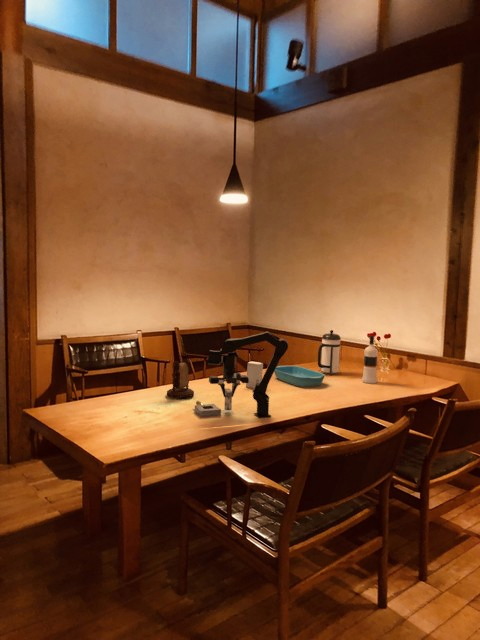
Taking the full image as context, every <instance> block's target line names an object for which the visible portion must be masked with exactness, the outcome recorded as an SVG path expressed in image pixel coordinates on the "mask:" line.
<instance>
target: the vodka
mask: <svg viewBox="0 0 480 640" xmlns="http://www.w3.org/2000/svg"><path fill="white" fill-rule="evenodd" d="M374 341H375V336H374V335H369V345H368V346H367V347H365V349H364V352H363V353H364V354H363V355H364V356H363V357H364V359H363V370H362V371H363V374H362V378H361V381H362V383H364V384H371V385H373V384H376V383H377V382H378V378H377V370H378V367H377V365H378V355H379V351H378V349H377V347H375V346H374V345H375V344H374Z"/></svg>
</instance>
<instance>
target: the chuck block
mask: <svg viewBox="0 0 480 640" xmlns="http://www.w3.org/2000/svg"><path fill="white" fill-rule="evenodd" d="M221 410H222V409H221V408H220V407H218V406H217V405H216V404H214V403H211V404H204V403H203V402H201V400H197V401H196V402H195V405H194V408H192V411H193V412H194V413H195V414H197V415H198V416H199V417H200V418H210V417H220V416H222V412H221Z"/></svg>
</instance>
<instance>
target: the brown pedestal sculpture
mask: <svg viewBox="0 0 480 640" xmlns="http://www.w3.org/2000/svg"><path fill="white" fill-rule="evenodd" d="M189 362H190V361H188V359H183V360H182V362H179V361H177V360H174V361H173V363H172V374H171V376H172V382H171V385H172V388H169V389H168V390H167V391H166V396H168V397H174V398H178V400H181V398H188V397H194V396H195V391H194V390H192V389H191V388H189V387H190V386H189V383H190V380H189V379H190V378H189V374H190V363H189ZM178 376H179V378H177V377H178Z"/></svg>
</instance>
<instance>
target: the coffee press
mask: <svg viewBox="0 0 480 640" xmlns="http://www.w3.org/2000/svg"><path fill="white" fill-rule="evenodd" d="M329 332H330V333H324V334H323V335H322V336H321V344H320V345H319V347H318V350H317V353H318V354H317V366H318V368H319V370H318V372H319V373H326V374H329V376H333V374H336V373H337V374H338V375H341V371H340V358H341V357H340V356H341V341H342V338H341V336H340V335H339V334H338V333H337V334H336V333H334V330H332V329H331V330H330V331H329ZM338 372H339V373H338Z"/></svg>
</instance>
